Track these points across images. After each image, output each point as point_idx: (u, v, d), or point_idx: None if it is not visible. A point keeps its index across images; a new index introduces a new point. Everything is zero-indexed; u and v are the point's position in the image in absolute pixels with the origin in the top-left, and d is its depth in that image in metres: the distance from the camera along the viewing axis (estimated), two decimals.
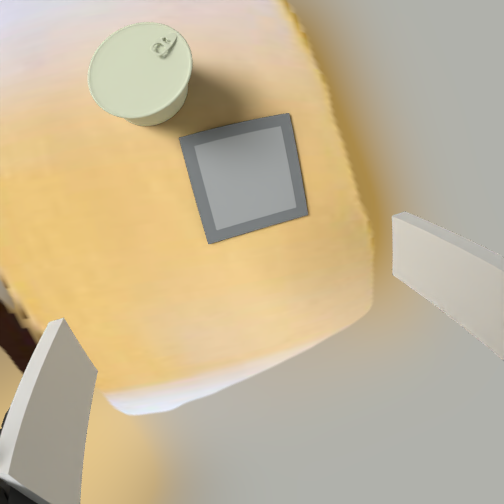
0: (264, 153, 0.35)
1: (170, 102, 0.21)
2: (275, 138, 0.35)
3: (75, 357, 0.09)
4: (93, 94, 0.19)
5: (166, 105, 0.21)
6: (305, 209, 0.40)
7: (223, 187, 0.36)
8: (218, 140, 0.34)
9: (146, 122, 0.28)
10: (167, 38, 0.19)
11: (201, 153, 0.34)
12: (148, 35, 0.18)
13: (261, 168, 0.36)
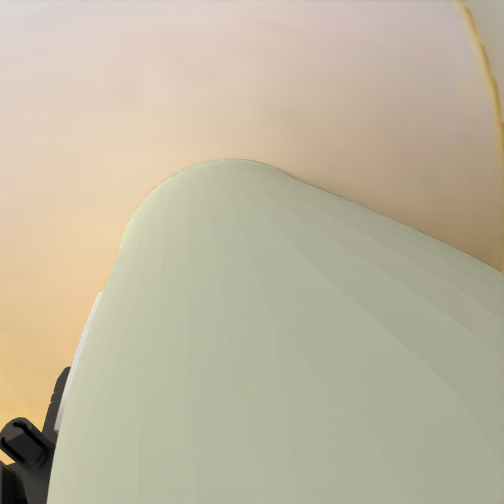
0: None
1: None
2: None
3: None
4: None
5: None
6: None
7: None
8: None
9: None
10: None
11: None
12: None
13: None
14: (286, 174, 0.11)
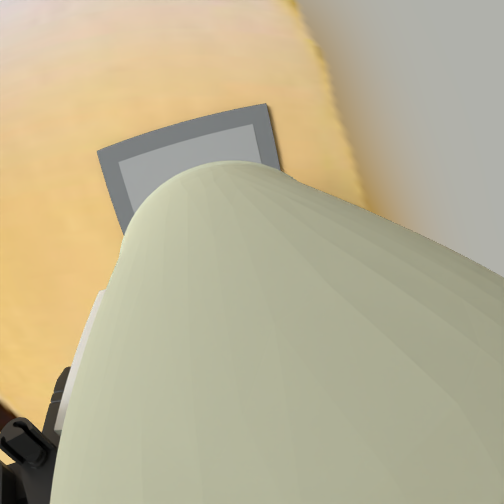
0: None
1: None
2: (244, 144, 0.23)
3: None
4: None
5: None
6: None
7: None
8: (154, 151, 0.21)
9: None
10: None
11: (130, 172, 0.21)
12: None
13: None
14: (287, 175, 0.11)
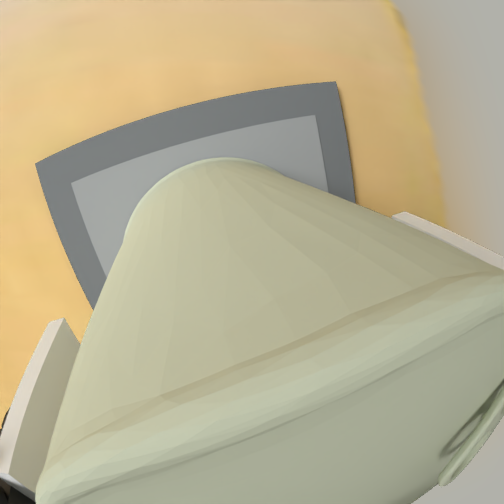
0: None
1: None
2: (300, 149, 0.13)
3: (75, 357, 0.09)
4: None
5: None
6: None
7: None
8: (134, 160, 0.11)
9: None
10: None
11: (92, 202, 0.11)
12: (461, 398, 0.02)
13: None
14: (274, 170, 0.12)
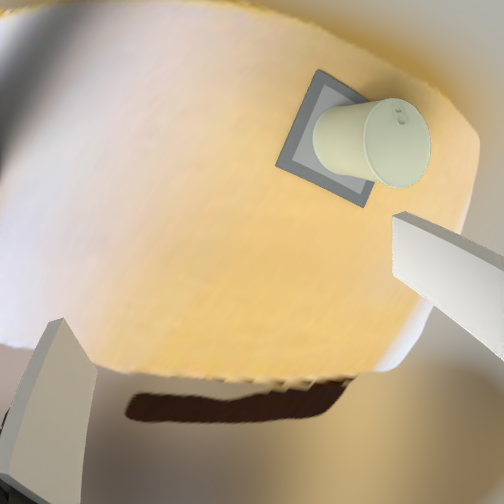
0: None
1: (430, 146, 0.25)
2: (331, 96, 0.33)
3: (75, 357, 0.09)
4: (393, 185, 0.26)
5: (430, 150, 0.25)
6: None
7: None
8: (301, 138, 0.34)
9: None
10: (397, 108, 0.23)
11: (301, 158, 0.35)
12: (384, 116, 0.23)
13: None
14: (332, 108, 0.33)
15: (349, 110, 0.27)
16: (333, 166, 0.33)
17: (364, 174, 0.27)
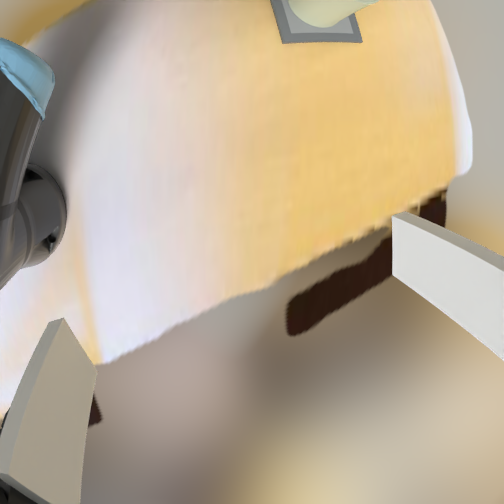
0: None
1: None
2: None
3: (75, 357, 0.09)
4: (370, 2, 0.23)
5: None
6: None
7: None
8: (287, 16, 0.32)
9: None
10: None
11: (297, 29, 0.33)
12: None
13: None
14: None
15: None
16: (322, 20, 0.31)
17: (347, 7, 0.25)
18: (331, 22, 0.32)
